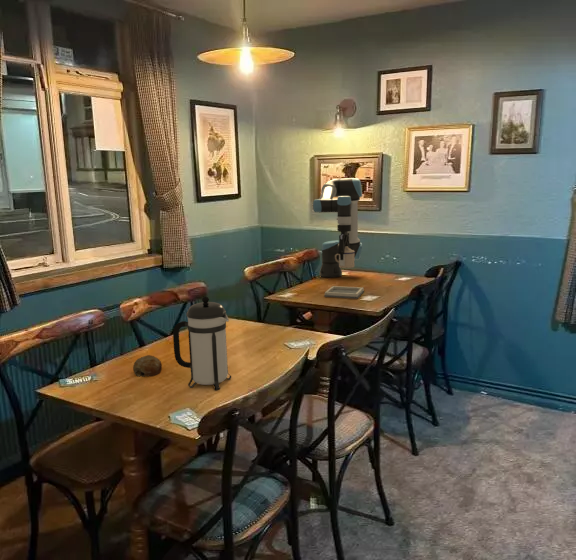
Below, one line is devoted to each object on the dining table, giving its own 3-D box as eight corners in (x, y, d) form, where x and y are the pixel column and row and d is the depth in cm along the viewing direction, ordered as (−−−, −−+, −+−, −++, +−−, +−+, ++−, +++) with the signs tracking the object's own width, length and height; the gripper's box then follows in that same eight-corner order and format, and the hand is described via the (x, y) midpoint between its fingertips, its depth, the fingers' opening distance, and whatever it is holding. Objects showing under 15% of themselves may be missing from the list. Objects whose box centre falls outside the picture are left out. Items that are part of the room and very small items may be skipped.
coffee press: (224, 371, 189) (220, 288, 183) (238, 386, 174) (234, 298, 168) (175, 379, 182) (169, 294, 176) (186, 396, 168) (179, 304, 162)
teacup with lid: (357, 266, 299) (357, 246, 297) (350, 269, 292) (350, 248, 289) (339, 264, 306) (338, 244, 303) (331, 267, 298) (331, 246, 296)
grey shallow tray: (332, 290, 313) (332, 286, 312) (364, 291, 306) (364, 287, 306) (324, 296, 297) (324, 292, 296) (357, 298, 290) (357, 294, 290)
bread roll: (132, 384, 188) (125, 368, 183) (142, 363, 196) (136, 347, 192) (158, 385, 186) (152, 369, 182) (167, 364, 194) (162, 348, 190)
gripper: (342, 222, 305) (342, 260, 309) (332, 225, 285) (332, 267, 289) (355, 222, 302) (355, 261, 307) (346, 226, 282) (346, 267, 287)
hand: (344, 264), depth 298 cm, fingers closed on teacup with lid, 9 cm apart
